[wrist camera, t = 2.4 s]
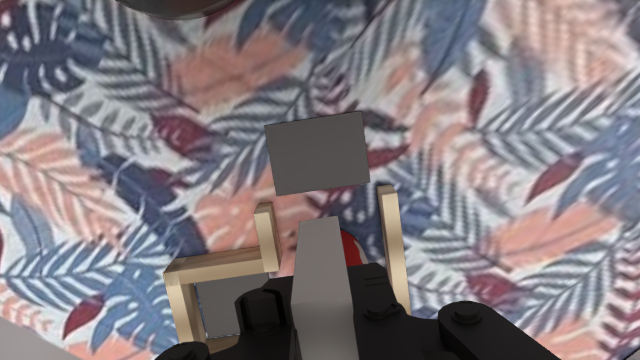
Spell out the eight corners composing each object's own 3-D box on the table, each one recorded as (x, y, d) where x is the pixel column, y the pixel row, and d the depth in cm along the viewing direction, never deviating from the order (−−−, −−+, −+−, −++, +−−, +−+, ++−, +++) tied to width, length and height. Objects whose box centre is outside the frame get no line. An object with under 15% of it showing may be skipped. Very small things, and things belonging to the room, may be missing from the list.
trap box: (164, 217, 38) (144, 235, 33) (390, 184, 37) (400, 198, 33) (212, 421, 42) (201, 460, 38) (415, 393, 42) (426, 429, 37)
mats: (164, 140, 36) (163, 141, 36) (360, 110, 36) (361, 111, 36) (209, 336, 40) (208, 337, 40) (386, 310, 40) (387, 312, 40)
